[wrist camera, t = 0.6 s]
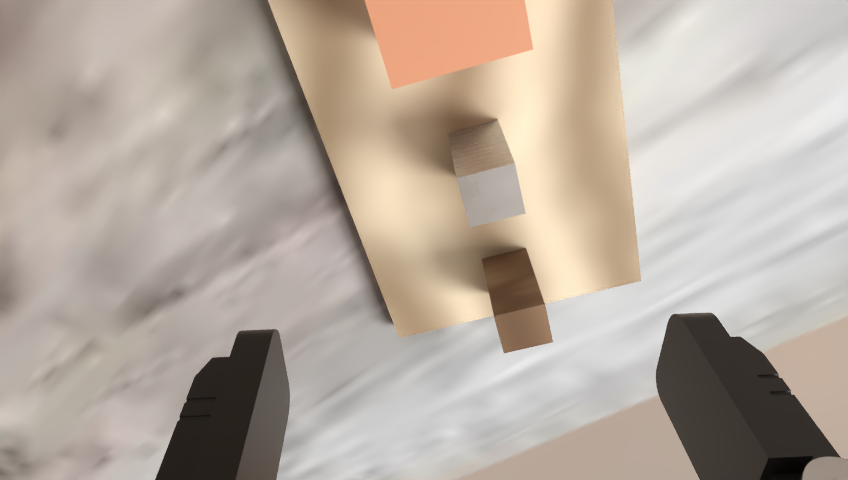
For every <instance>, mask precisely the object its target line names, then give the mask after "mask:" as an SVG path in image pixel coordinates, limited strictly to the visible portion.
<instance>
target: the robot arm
mask: <svg viewBox="0 0 848 480" xmlns="http://www.w3.org/2000/svg"><path fill="white" fill-rule="evenodd" d="M656 383H657V389H658V393H659V397H660V399H661V401H662V403H663V405H664V407H665V409H666V412H667V414H668V416H669V418H670V420H671V422H672V423H673V426H674V428H675V430H676V432H677V434H678V436H679V438H680V440H681V442H682V444H683V446H684V448H685V450H686V452H687V454H688V456H689V458H690V460H691V462H692V465H693V467H694V469H695V471H696V473H697V474H698V477H699V479H700V480H848V459H844V458H841V457H840V456H839V455H838V453H837V452H836V451H835V449H834V448H833V447H832V445H831V444H830V443H829V441H828V440H827V439H826V437H825V436H824V434H823V433H822V432H821V430H820V429H819V428H818V427H817V425H816V424H815V422H814V421H813V420H812V418H811V417H810V416H809V414H808V413H807V412H806V410H805V409H804V408H803V406H802V405H801V404H800V402H799V401H798V399H797V398H796V397H795V395H791V390H790V389H789V387H788V386H787V385H786V383H785V382H784V381H783V379H782V378H779V377H778V373H777V371H776V370H775V369H774V367H773V366H772V364H771V363H770V362H769V361H768V359H767V358H766V356H765V355H764V354H763V353H762V352H760V351H759V350H758V349H756V348H755V347H754V346H752V345H751V344H750V343H748V342H747V341H746V340H744V339H743V338H742V337H730V335H729V334H728V333H727V331H726V330H725V328H724V327H723V326H722V324H721V323H720V321H719V320H718V318H717V317H716V316H715V315H714V314H712V313H688V314H673V315H672V316H671V317H670V319H669V321H668V324H667V329H666V333H665V337H664V341H663V345H662V349H661V353H660V357H659V361H658V365H657V370H656ZM186 399H187V402H186V403H185V404H184V406H183V409H182V411H181V414H180V420H179V421H178V422H177V424H176V427H175V430H174V432H173V435H172V437H171V440H170V443H169V445H168V448H167V451H166V453H165V456H164V458H163V461H162V464H161V466H160V469H159V471H158V474H157V477H156V479H155V480H276V478H277V472H278V467H279V462H280V457H281V451H282V446H283V441H284V435H285V430H286V425H287V420H288V414H289V403H290V393H289V383H288V377H287V372H286V366H285V361H284V356H283V350H282V345H281V340H280V335H279V332H278V330H276V329H272V330H247V331H239V332H238V334H237V336H236V339H235V342H234V345H233V348H232V351H231V354H230V357H217V358H212V359H211V360H210V361H209V362H208V363H207V364H206V365H205V366H204V367H203V369H202V370H201V371H200V372H199V373H198V374H197V375H196V376H195V378H194V380H193V383H192V385H191V388H190V391H189V393H188V396H187V398H186Z"/></svg>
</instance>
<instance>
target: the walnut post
mask: <svg viewBox="0 0 848 480" xmlns="http://www.w3.org/2000/svg"><path fill="white" fill-rule="evenodd" d="M482 263H483V268H484V273H485V277H486V282H487V286H488V291H489V296H490V300H491V305H492V310H493V314H494V318H495V322H496V326H497V329H498V333H499V337H500V340H501V344H502V348H503V351H504V353H507V352H512V351H516V350H520V349H525V348H529V347H534V346H538V345H542V344H547V343H551V342H553V340H552V335H551V331H550V326H549V321H548V316H547V312H546V307H545V303H544V300H543V297H542V294H541V291H540V288H539V285H538V282H537V279H536V276H535V273H534V270H533V267H532V264H531V261H530V258H529V255H528V252H527V249H526V248H523V249H519V250H515V251H511V252H507V253H503V254H499V255H495V256H491V257H487V258H483V259H482Z"/></svg>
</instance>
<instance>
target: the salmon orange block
mask: <svg viewBox="0 0 848 480" xmlns="http://www.w3.org/2000/svg"><path fill="white" fill-rule="evenodd" d="M365 3H366V7H367V10H368V13H369V16H370V20H371V23H372V26H373V29H374V32H375V36H376V39H377V42H378V45H379V49H380V52H381V55H382V58H383V62H384V65H385V68H386V71H387V75H388V78H389V81H390V84H391V88H392V89H395V88H398V87H402V86H405V85H409V84H412V83H416V82H420V81H423V80H427V79H430V78H434V77H437V76H441V75H444V74H448V73H452V72H455V71H459V70H462V69H466V68H469V67H473V66H476V65H480V64H483V63H487V62H491V61H494V60H498V59H501V58H505V57H508V56H512V55H515V54H519V53H522V52H526V51H530V50H533V45H532V39H531V33H530V28H529V22H528V16H527V11H526V5H525V0H365Z"/></svg>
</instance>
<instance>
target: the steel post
mask: <svg viewBox="0 0 848 480" xmlns="http://www.w3.org/2000/svg"><path fill="white" fill-rule="evenodd" d="M448 137H449V143H450V148H451V153H452V158H453V163H454V169H455V174H456V179H457V183H458V186H459V190H460V194H461V197H462V201H463V205H464V208H465V212H466V216H467V219H468V223H469V227H474V226H478V225H482V224H486V223H490V222H494V221H498V220H502V219H506V218H510V217H514V216H518V215H522V214H526V213H525V208H524V203H523V199H522V194H521V189H520V184H519V180H518V175H517V170H516V166H515V162H514V159H513V157H512V154H511V152H510V149H509V147H508V144H507V141H506V139H505V136H504V134H503V131H502V129H501V126H500V124H499V121H498V119H497V120H493V121H489V122H486V123H482V124H478V125H475V126H471V127H467V128H464V129H460V130H456V131H453V132H449V133H448Z"/></svg>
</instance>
